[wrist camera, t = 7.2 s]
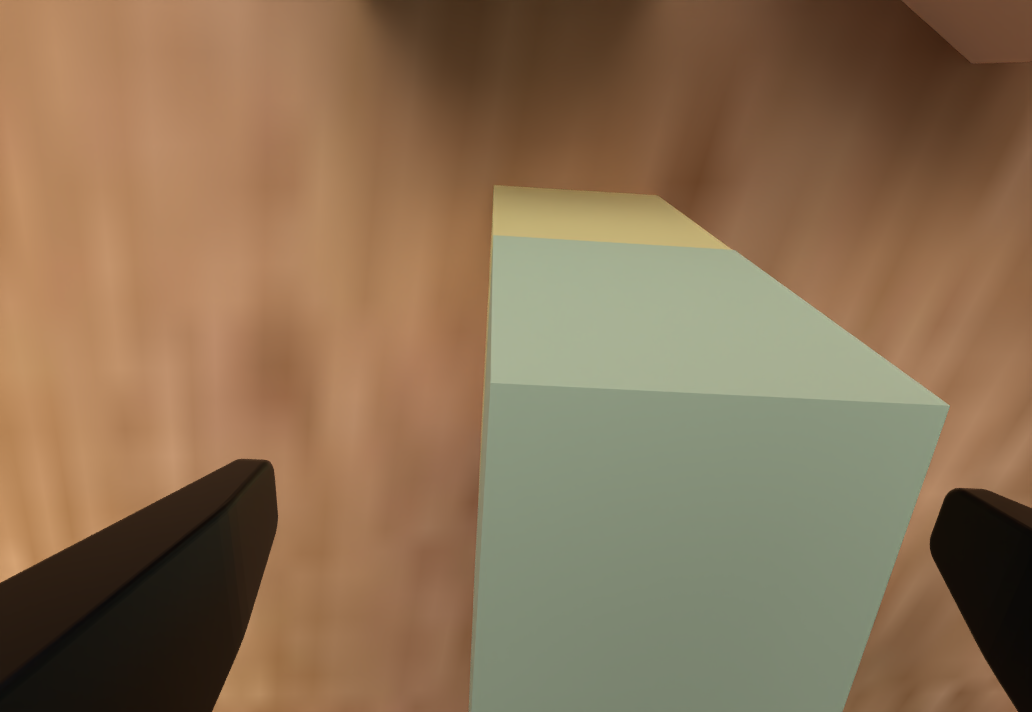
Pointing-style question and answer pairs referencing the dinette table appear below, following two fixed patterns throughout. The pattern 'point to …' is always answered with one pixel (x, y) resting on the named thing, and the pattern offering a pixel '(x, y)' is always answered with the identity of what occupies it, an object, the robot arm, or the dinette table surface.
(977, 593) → the robot arm
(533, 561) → the green brick
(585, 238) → the mustard brick
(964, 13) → the terracotta brick
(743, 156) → the dinette table surface
